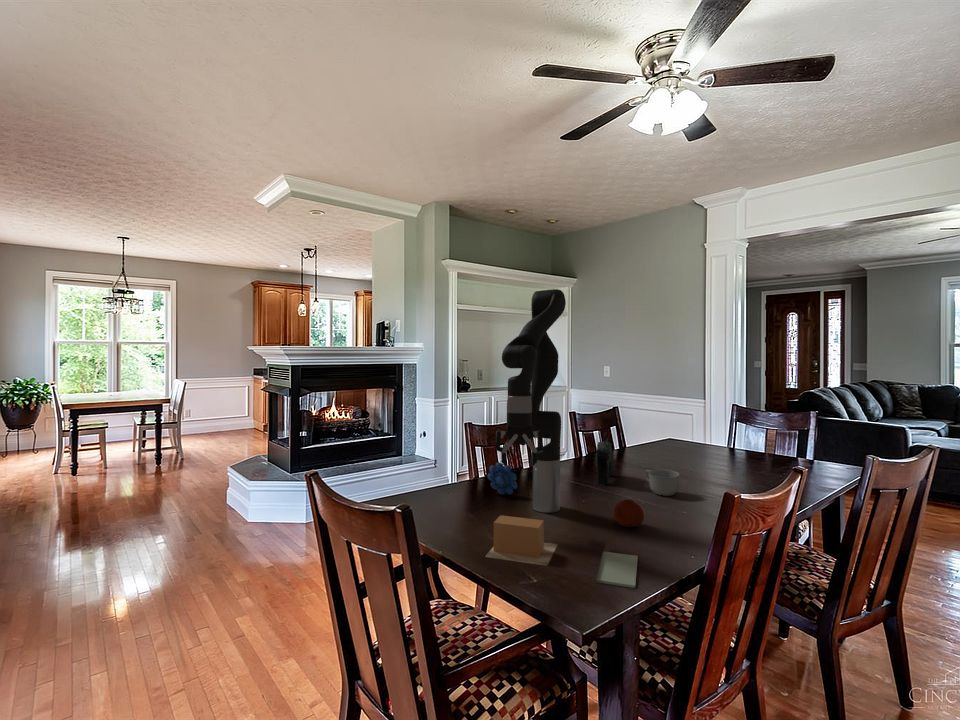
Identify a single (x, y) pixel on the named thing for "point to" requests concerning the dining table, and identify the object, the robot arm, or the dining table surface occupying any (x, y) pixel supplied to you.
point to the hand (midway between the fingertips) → (519, 465)
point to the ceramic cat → (604, 461)
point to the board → (542, 559)
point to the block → (519, 536)
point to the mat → (617, 569)
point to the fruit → (628, 513)
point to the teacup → (663, 481)
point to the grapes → (502, 478)
